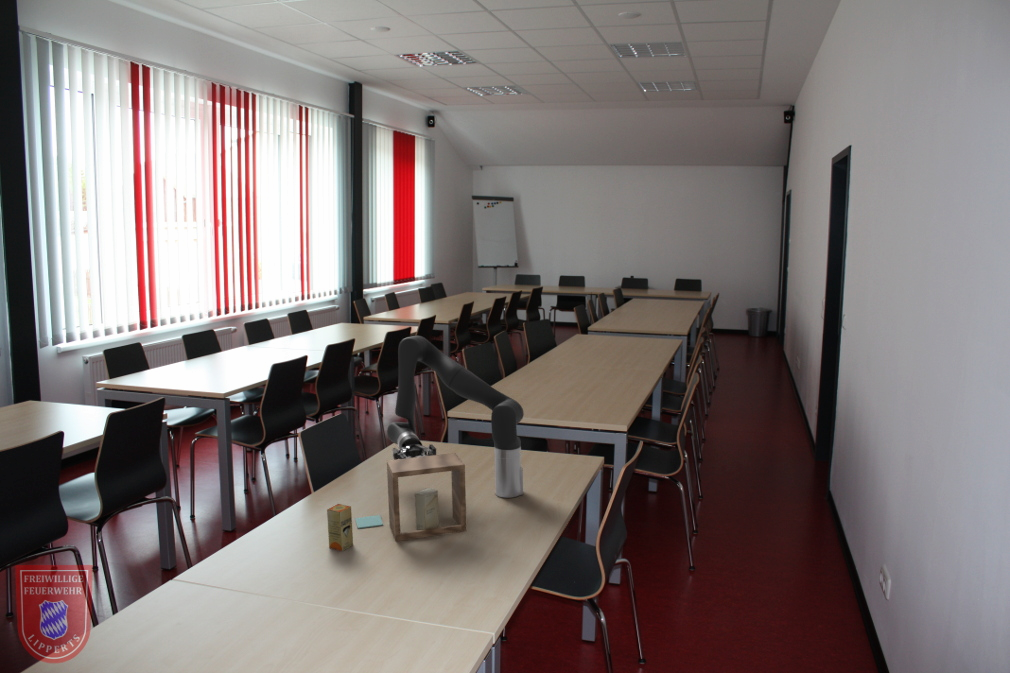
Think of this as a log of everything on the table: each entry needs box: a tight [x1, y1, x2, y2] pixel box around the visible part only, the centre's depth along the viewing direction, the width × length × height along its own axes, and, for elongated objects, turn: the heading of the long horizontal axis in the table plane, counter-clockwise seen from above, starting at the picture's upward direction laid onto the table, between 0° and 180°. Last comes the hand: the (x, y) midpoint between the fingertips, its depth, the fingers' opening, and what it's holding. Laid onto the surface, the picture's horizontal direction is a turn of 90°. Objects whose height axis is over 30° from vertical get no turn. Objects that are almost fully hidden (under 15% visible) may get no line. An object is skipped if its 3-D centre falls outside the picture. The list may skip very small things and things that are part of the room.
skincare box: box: [414, 487, 440, 531], centre depth 227 cm, size 6×4×12 cm
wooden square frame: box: [386, 452, 467, 542], centre depth 226 cm, size 22×12×22 cm, turn 107°
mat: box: [354, 514, 384, 530], centre depth 233 cm, size 8×8×1 cm
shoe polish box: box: [326, 503, 354, 552], centre depth 215 cm, size 5×5×12 cm
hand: (418, 459), depth 237 cm, fingers open, 8 cm apart
